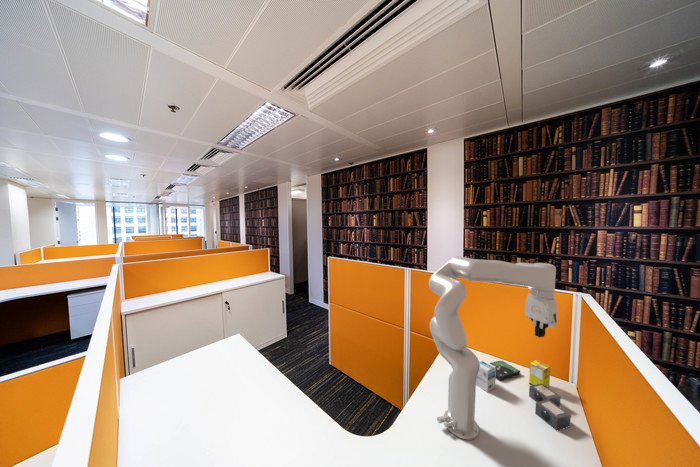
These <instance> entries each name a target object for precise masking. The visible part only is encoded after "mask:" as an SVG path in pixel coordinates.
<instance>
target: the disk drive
mask: <svg viewBox="0 0 700 467" xmlns="http://www.w3.org/2000/svg"><path fill="white" fill-rule="evenodd" d="M488 363H489V362H488ZM489 364H491V365H493V366H495V367H496V378H495V380H498V381H499V382H503V381H505V380H508V379H512V378H514V377H519V376H520V375H521V370H520V369H517V368H516V367H514V366H513V365H511V364H509V363H507V362H505V361H504V360H496V361H493V362H490V363H489Z"/></svg>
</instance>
